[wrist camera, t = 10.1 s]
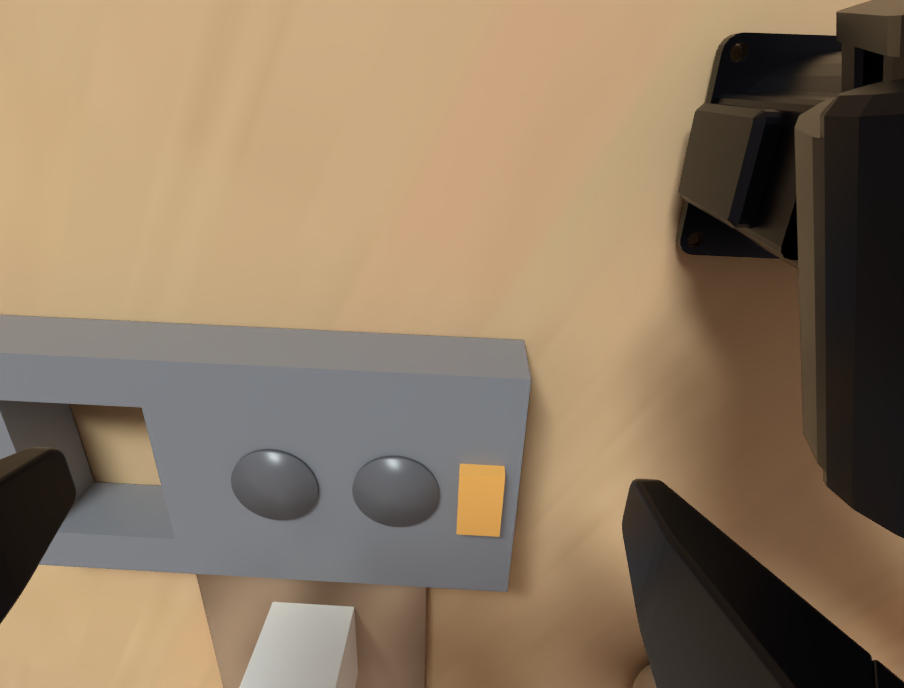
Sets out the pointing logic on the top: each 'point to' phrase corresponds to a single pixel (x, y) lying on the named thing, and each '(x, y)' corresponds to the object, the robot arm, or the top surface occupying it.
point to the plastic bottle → (645, 679)
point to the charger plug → (305, 648)
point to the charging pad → (376, 606)
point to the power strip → (281, 448)
